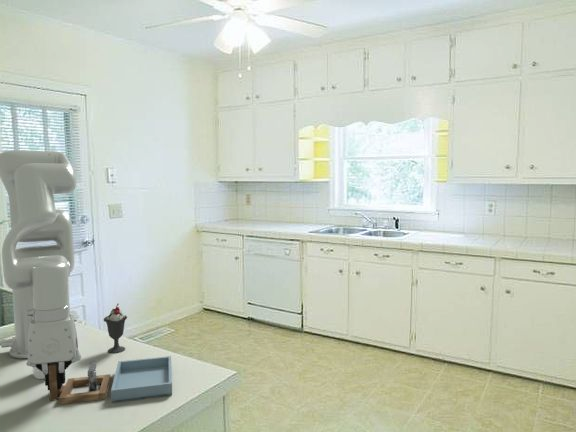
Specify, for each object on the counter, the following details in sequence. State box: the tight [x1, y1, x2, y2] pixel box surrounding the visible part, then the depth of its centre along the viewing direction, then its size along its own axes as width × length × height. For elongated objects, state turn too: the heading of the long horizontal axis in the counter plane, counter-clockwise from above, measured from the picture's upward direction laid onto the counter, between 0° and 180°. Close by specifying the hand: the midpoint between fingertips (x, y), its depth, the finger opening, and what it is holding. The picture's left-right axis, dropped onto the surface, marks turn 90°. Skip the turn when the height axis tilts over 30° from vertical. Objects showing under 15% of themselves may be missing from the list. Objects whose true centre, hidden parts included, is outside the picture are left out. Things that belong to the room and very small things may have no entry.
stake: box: [87, 361, 98, 392], centre depth 107 cm, size 2×5×6 cm, turn 16°
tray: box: [110, 355, 173, 403], centre depth 111 cm, size 14×16×3 cm
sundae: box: [103, 303, 128, 354], centre depth 131 cm, size 7×7×15 cm
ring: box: [49, 362, 111, 405], centre depth 106 cm, size 12×10×8 cm
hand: (55, 386), depth 105 cm, fingers closed on ring, 1 cm apart
